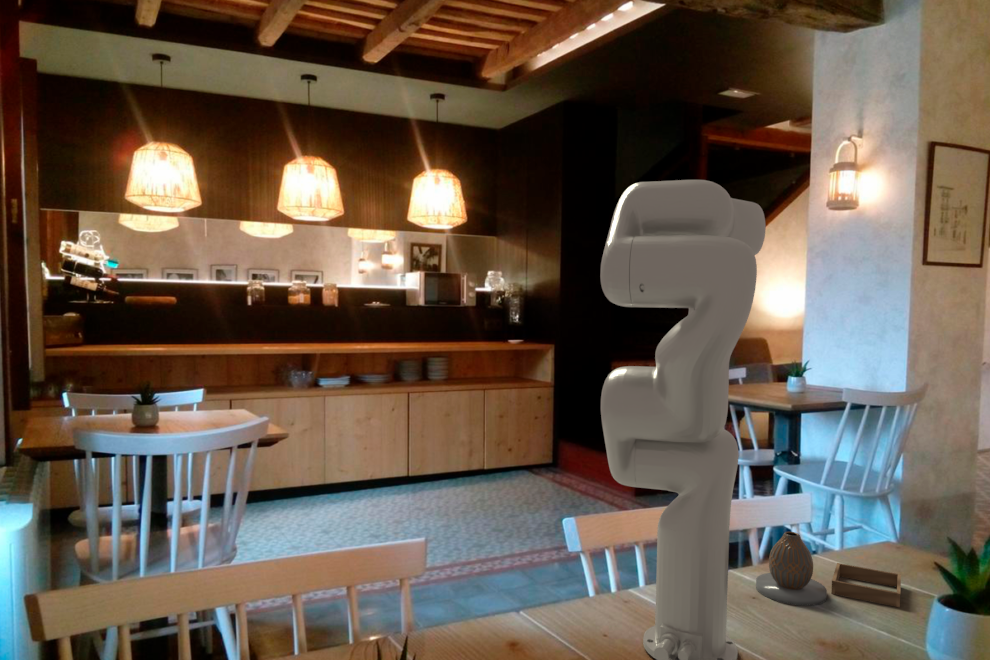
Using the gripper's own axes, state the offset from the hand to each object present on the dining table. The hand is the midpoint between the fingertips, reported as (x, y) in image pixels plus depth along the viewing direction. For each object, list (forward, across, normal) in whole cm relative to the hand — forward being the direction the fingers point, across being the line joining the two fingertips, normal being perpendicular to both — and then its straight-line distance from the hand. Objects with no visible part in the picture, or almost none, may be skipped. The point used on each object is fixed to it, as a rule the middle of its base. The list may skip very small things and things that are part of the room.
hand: (705, 388), depth 122 cm
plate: (+34, +4, -14) cm, 37 cm away
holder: (+34, +13, -25) cm, 44 cm away
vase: (+33, +4, -14) cm, 36 cm away
